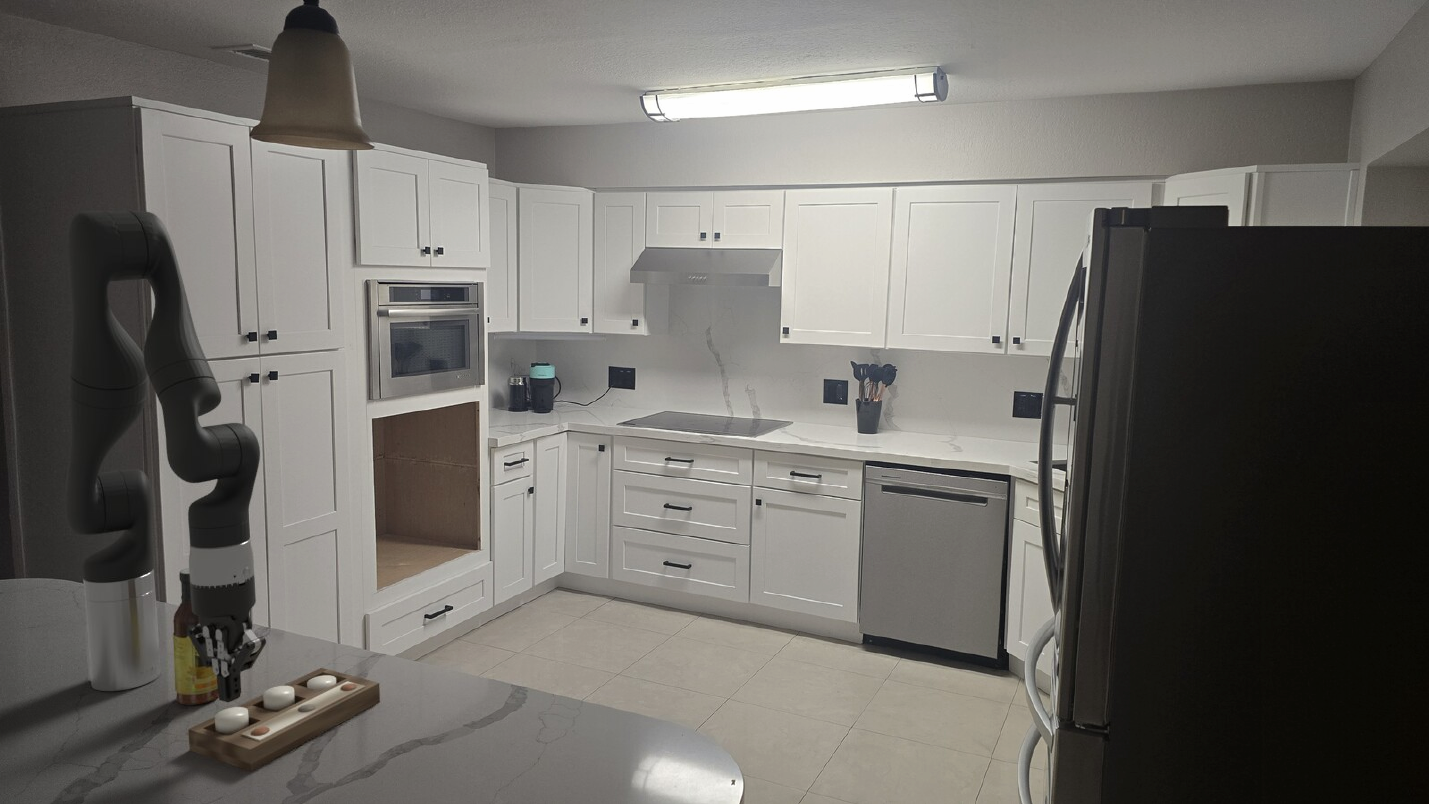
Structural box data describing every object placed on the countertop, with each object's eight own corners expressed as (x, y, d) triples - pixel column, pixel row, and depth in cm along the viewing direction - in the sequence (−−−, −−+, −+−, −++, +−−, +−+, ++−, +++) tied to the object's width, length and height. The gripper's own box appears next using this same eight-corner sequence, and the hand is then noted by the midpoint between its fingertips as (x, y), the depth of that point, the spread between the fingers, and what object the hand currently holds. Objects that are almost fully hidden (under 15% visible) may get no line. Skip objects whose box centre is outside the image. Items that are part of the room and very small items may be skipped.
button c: (208, 730, 123) (208, 716, 123) (235, 718, 127) (234, 704, 127) (229, 737, 122) (228, 723, 121) (255, 724, 125) (254, 710, 125)
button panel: (189, 750, 123) (188, 726, 123) (322, 685, 143) (321, 665, 142) (251, 771, 118) (250, 746, 118) (379, 701, 138) (379, 680, 137)
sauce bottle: (202, 709, 135) (194, 579, 132) (165, 704, 136) (157, 575, 133) (234, 690, 141) (227, 565, 138) (198, 686, 142) (191, 562, 140)
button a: (301, 696, 137) (301, 683, 137) (323, 685, 140) (322, 673, 140) (321, 701, 135) (320, 688, 135) (342, 690, 139) (341, 678, 139)
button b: (257, 707, 130) (256, 694, 130) (281, 696, 134) (280, 683, 133) (277, 713, 128) (276, 700, 128) (301, 702, 132) (300, 688, 132)
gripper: (162, 575, 121) (171, 700, 123) (230, 590, 115) (238, 721, 117) (214, 560, 127) (222, 679, 130) (281, 573, 122) (288, 697, 124)
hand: (230, 699), depth 123 cm, fingers closed
